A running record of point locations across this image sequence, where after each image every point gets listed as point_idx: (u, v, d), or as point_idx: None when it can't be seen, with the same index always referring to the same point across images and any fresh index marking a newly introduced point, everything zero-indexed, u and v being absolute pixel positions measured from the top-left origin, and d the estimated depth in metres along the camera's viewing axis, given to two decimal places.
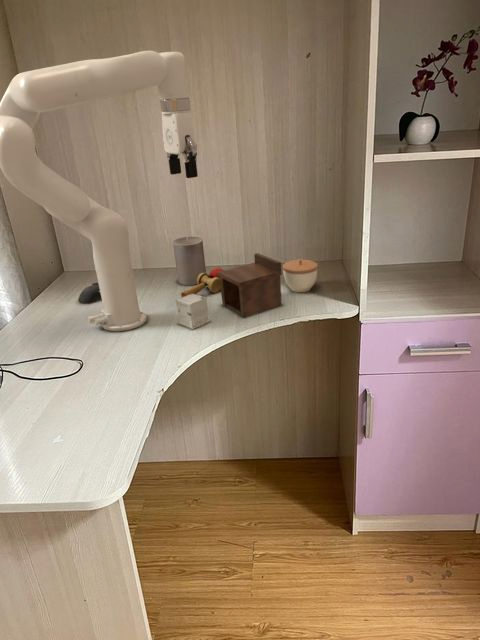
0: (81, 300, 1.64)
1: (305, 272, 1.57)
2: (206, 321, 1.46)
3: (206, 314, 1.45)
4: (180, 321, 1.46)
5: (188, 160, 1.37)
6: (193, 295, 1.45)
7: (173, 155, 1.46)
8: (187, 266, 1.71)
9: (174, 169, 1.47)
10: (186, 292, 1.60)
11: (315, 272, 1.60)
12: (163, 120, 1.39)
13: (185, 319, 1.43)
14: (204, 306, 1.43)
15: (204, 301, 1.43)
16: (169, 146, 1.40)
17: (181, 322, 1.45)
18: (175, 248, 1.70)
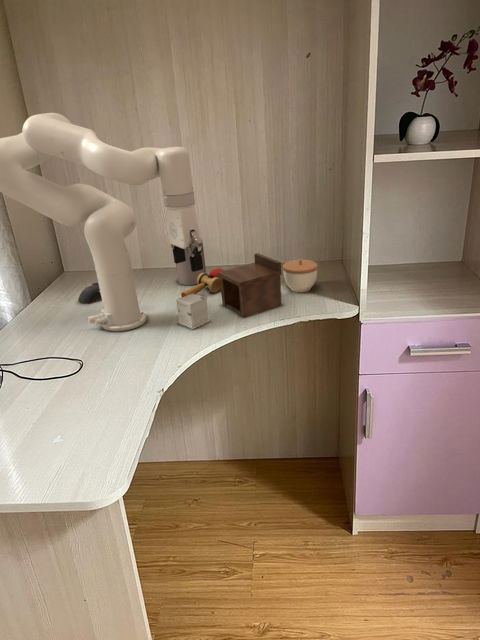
0: (81, 300, 1.64)
1: (305, 272, 1.57)
2: (206, 321, 1.46)
3: (206, 314, 1.45)
4: (180, 321, 1.46)
5: (193, 255, 1.32)
6: (193, 295, 1.45)
7: None
8: (187, 266, 1.71)
9: (178, 258, 1.42)
10: (186, 292, 1.60)
11: (315, 272, 1.60)
12: (167, 213, 1.34)
13: (185, 319, 1.43)
14: (204, 306, 1.43)
15: (204, 301, 1.43)
16: (173, 239, 1.35)
17: (181, 322, 1.45)
18: None
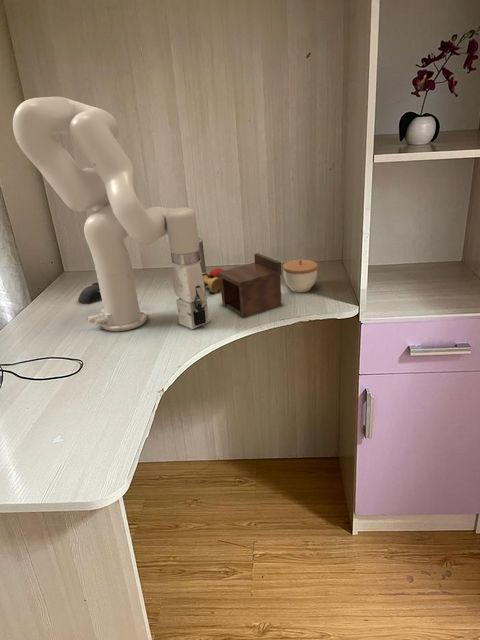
0: (81, 300, 1.64)
1: (305, 272, 1.57)
2: (206, 321, 1.46)
3: (206, 314, 1.45)
4: (180, 321, 1.46)
5: (197, 310, 1.40)
6: None
7: None
8: None
9: None
10: None
11: (315, 272, 1.60)
12: (173, 268, 1.40)
13: (185, 319, 1.43)
14: None
15: None
16: (179, 292, 1.41)
17: (181, 322, 1.45)
18: None
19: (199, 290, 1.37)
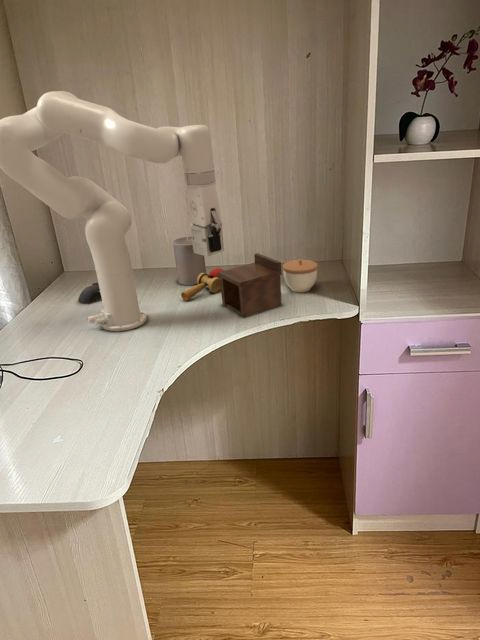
0: (81, 300, 1.64)
1: (305, 272, 1.57)
2: (221, 249, 1.40)
3: (221, 242, 1.39)
4: (194, 250, 1.40)
5: (212, 235, 1.34)
6: None
7: None
8: (187, 266, 1.71)
9: None
10: (186, 292, 1.60)
11: (315, 272, 1.60)
12: (187, 191, 1.35)
13: (199, 246, 1.38)
14: None
15: None
16: (194, 217, 1.36)
17: (196, 250, 1.40)
18: (175, 248, 1.70)
19: (214, 213, 1.32)
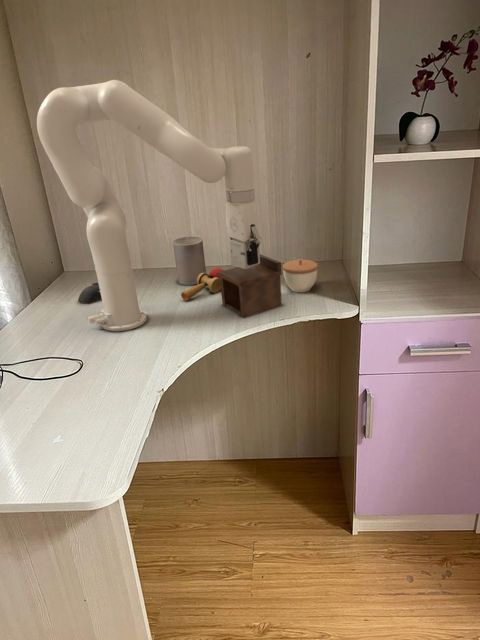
0: (81, 300, 1.64)
1: (305, 272, 1.57)
2: (258, 262, 1.48)
3: (258, 255, 1.48)
4: (232, 262, 1.48)
5: (251, 249, 1.42)
6: None
7: None
8: (187, 266, 1.71)
9: None
10: (186, 292, 1.60)
11: (315, 272, 1.60)
12: (227, 208, 1.43)
13: (238, 259, 1.46)
14: None
15: None
16: (233, 232, 1.44)
17: (233, 263, 1.48)
18: (175, 248, 1.70)
19: (254, 228, 1.40)
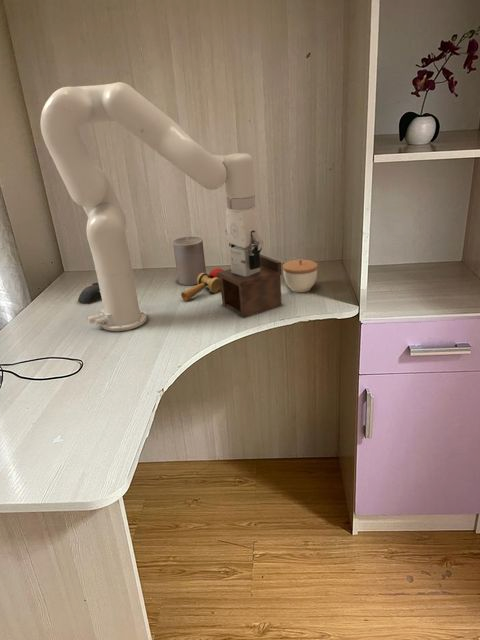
0: (81, 300, 1.64)
1: (305, 272, 1.57)
2: (258, 270, 1.49)
3: None
4: (232, 270, 1.49)
5: (253, 254, 1.42)
6: None
7: None
8: (187, 266, 1.71)
9: None
10: (186, 292, 1.60)
11: (315, 272, 1.60)
12: (228, 214, 1.44)
13: (238, 267, 1.47)
14: None
15: None
16: (233, 238, 1.45)
17: (234, 270, 1.49)
18: (175, 248, 1.70)
19: (254, 233, 1.40)
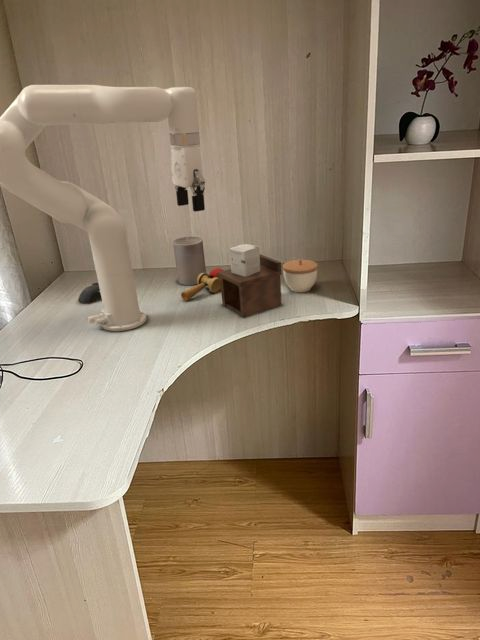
0: (81, 300, 1.64)
1: (305, 272, 1.57)
2: (258, 270, 1.49)
3: (258, 263, 1.49)
4: (232, 270, 1.49)
5: (196, 194, 1.37)
6: (245, 245, 1.49)
7: (181, 187, 1.45)
8: (187, 266, 1.71)
9: (181, 200, 1.46)
10: (186, 292, 1.60)
11: (315, 272, 1.60)
12: (172, 153, 1.38)
13: (238, 267, 1.47)
14: (257, 255, 1.47)
15: (257, 250, 1.47)
16: (177, 179, 1.39)
17: (234, 270, 1.49)
18: (175, 248, 1.70)
19: (197, 172, 1.35)
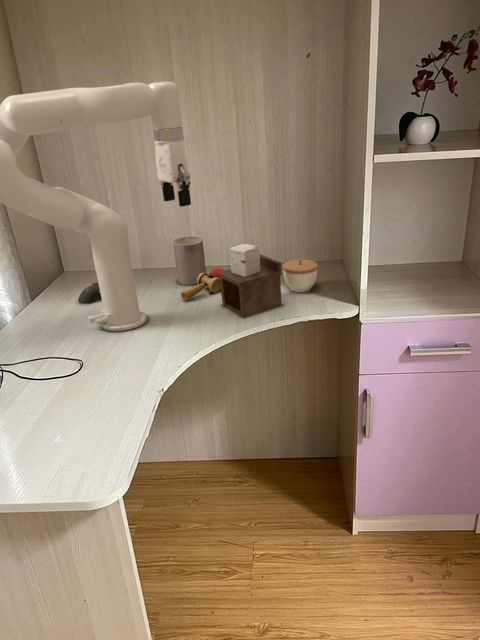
0: (81, 300, 1.64)
1: (305, 272, 1.57)
2: (258, 270, 1.49)
3: (258, 263, 1.49)
4: (232, 270, 1.49)
5: (181, 189, 1.37)
6: (245, 245, 1.49)
7: (167, 182, 1.46)
8: (187, 266, 1.71)
9: (168, 196, 1.47)
10: (186, 292, 1.60)
11: (315, 272, 1.60)
12: (156, 148, 1.38)
13: (238, 267, 1.47)
14: (257, 255, 1.47)
15: (257, 250, 1.47)
16: (162, 174, 1.40)
17: (234, 270, 1.49)
18: (175, 248, 1.70)
19: (182, 167, 1.35)
